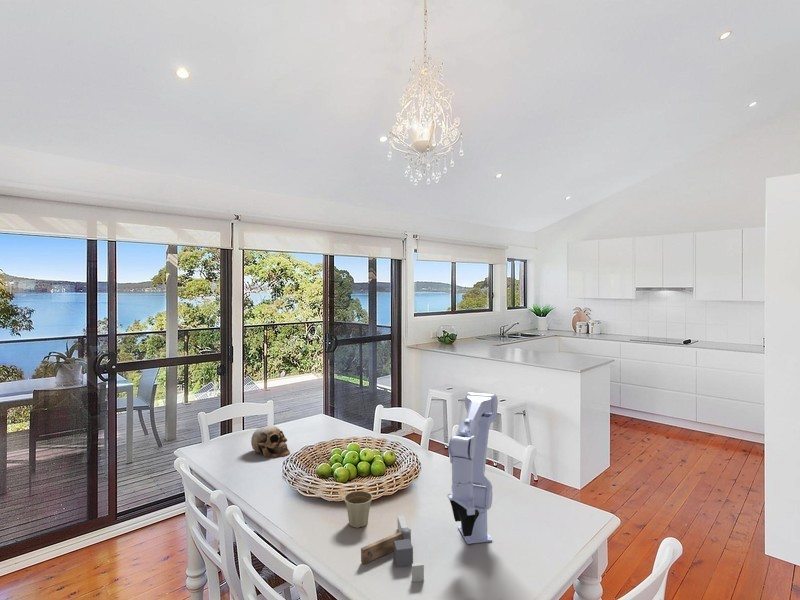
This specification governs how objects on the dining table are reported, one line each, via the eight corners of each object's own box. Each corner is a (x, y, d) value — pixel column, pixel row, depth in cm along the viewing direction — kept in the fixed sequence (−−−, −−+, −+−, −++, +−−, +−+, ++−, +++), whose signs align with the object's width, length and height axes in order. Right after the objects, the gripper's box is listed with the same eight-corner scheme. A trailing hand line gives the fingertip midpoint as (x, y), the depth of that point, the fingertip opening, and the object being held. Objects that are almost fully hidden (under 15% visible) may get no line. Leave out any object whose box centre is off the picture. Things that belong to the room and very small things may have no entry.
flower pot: (373, 515, 147) (373, 490, 147) (372, 530, 137) (372, 503, 137) (345, 516, 147) (345, 490, 146) (343, 531, 137) (342, 504, 137)
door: (399, 544, 129) (399, 531, 129) (404, 548, 127) (404, 535, 127) (361, 562, 121) (360, 548, 121) (365, 566, 119) (365, 551, 119)
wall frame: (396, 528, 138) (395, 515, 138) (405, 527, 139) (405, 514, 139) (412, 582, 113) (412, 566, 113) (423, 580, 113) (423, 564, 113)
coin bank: (290, 455, 202) (286, 427, 202) (251, 464, 197) (248, 435, 197) (289, 445, 217) (286, 419, 217) (253, 453, 212) (250, 426, 212)
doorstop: (394, 558, 123) (393, 540, 123) (409, 556, 124) (409, 538, 124) (397, 567, 119) (396, 550, 119) (413, 565, 120) (412, 547, 119)
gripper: (441, 470, 126) (442, 516, 127) (456, 492, 112) (457, 544, 112) (464, 468, 128) (464, 513, 128) (482, 490, 113) (482, 541, 113)
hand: (462, 527), depth 120 cm, fingers open, 7 cm apart
